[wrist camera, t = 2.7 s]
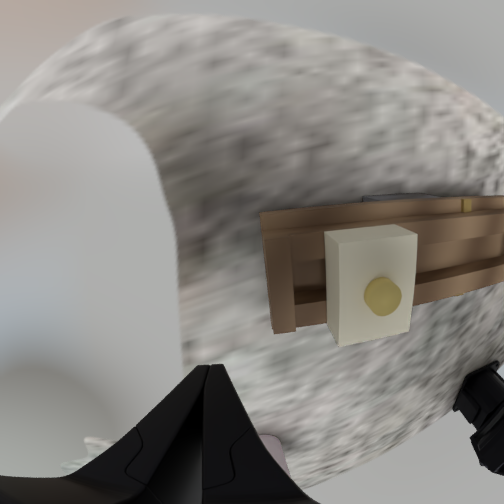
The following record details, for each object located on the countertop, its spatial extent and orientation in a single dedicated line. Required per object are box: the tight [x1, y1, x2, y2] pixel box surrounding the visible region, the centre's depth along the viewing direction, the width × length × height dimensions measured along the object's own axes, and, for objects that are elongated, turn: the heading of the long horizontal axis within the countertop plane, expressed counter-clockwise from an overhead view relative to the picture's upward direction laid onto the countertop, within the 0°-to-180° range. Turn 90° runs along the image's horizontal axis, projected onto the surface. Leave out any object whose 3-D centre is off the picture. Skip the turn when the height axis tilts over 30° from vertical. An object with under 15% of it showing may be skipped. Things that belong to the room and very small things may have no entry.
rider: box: [324, 224, 418, 347], centre depth 14 cm, size 4×5×5 cm
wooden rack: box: [259, 193, 504, 334], centre depth 17 cm, size 20×7×6 cm, turn 97°
